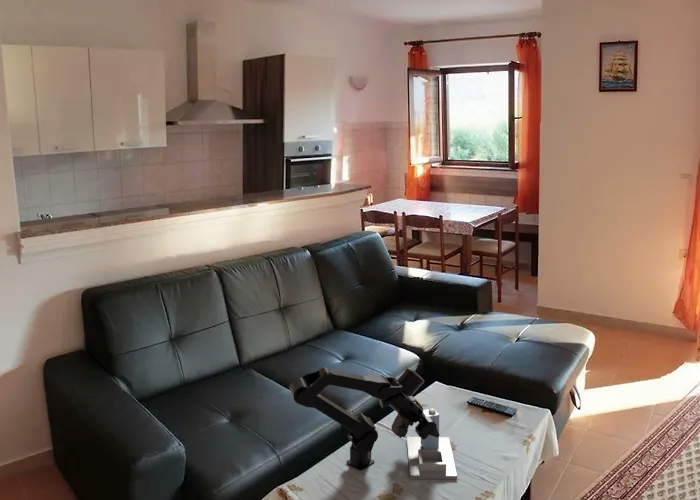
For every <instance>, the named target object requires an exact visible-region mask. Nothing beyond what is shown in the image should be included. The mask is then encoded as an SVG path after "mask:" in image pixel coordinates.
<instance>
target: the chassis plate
mask: <svg viewBox="0 0 700 500" xmlns="http://www.w3.org/2000/svg"><path fill="white" fill-rule="evenodd" d="M406 445H407V446H406V447H407V459H408V469H409V478H410V480H458V474H457V470H456V464H455V459H454V455H453V450H452V445H451V441H450V437H449V436H439V449H434V450H425V449H424V448H423V446H422V445H421V437H419V436H406Z"/></svg>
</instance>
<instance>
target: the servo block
mask: <svg viewBox="0 0 700 500" xmlns="http://www.w3.org/2000/svg"><path fill="white" fill-rule="evenodd" d="M423 411H424V412H423V413H422V415H423V416H424V417H427V416H429V417H430V418H432V420H433V421H434V422H435V423H436V424H437V426H436V427H437V430H438V432H439V433H440V414H439V412H437V410H436V409H435V408H432V407H431V408H429V409H428V408H427V409H423ZM439 437H440V436H439ZM439 437H438V438H437V437H434V436H432V435H428V437H427V438H426V439H424V440H423V439H422V438H421V445H422V446H423V448H424V449H425V450H434V449H439Z"/></svg>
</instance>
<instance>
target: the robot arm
mask: <svg viewBox="0 0 700 500" xmlns="http://www.w3.org/2000/svg"><path fill="white" fill-rule="evenodd" d="M424 383H425V380H424V379H423V378H422V377H421V376H420V375H419V374H418V373H417V372H416V371H415V370H414V369H411V368H410V367H407V368H406V369H405V370H404V372H403V373H402V374H401V375H400V377H399V378H398V379H397V378H396V377H395V376H385V375H383V374H371V373H370V374H368V375H361V374H354V373H350V372H346V371H341V370H335V369H331V368H328V367H321V368H319V369H317V370H316V371H313V372H310V373H309V372H308V373H306V374H303V376H301V377H297V378H294V379H293V380H292V381H291V382H290V385H289V392H290V394H291V396H292V398H293V401H294V402H295V403H296V404H297V405H300V406H302V407H305V408H309V409H314V410H317V411H318V412H320V413H322V414H323V415H325V416H327V417H328V418H329V419H332V420H333V421H334V422H336V423H338V424H340V425H341V426H343V427H344V428H346V429H348V431H350V432H348V434H347V436H348V439H349V441H350V442H351V445H350V447H349V459H348V460H346V464H347V465H349V466H351V467H353V468H354V469H357V470H359V471H363V470H366V469H367V468H368V467H370V466H372V465H373V464H375V459H372V451H373V447H374V445H375V443H376V442H377V441H378V438H379V433H378V431H377V429H376V426H375V424H374V423H373V421H372V419H371V418H370V417H368V416H366V415H364V414H363V413H362V412H359V414H358V415H354V414H352V413H351V412H349V411H347V410H346V409H344V408H342V407H341V406H339V405H337V404H336V403H334V402H333V401H331V400H330V399H328V398H326V397H325V396H323V395H321V394H320V393H321V392H322V391H323V390H324V389H325V388H327V387H328V386H333V387H334V386H335V387H339V388H344V389H349V390H354V391H360V392H363V393H366V394H367V395H369V396H371V397H373V398H375V399H379V403H378V404H379V405H380V408H382V409H383V410H385V409H386V408H387V407H388V406H389V407H391V409H393V410H394V411H395V412H396V413H397V415H396V416H395V418H394V420H393V422H392V424H391V431H392V433H393V434H394V435H395V436H396V437H399V439H402V438H405V437H407V435H408V434H407V433H408V432H409V428H410V427H412V426H413V425H415V424H416V426H415V428H414V431H415V433H416V434H417V435H418V437H421V438H422V439H423V440H424V439H426V438H427V437H428V435H432V436H434V437H437V438H438V437H441V436H440V431H439V432H438V430H437V427H436V426H437V424H436V423H435V422H434V421H433V420H432V418H430V417H429V416H427V417H424V416H423V415H422V413H423V412H424V411H423V410H424V408H423V406H422V405H421V404H420V402H419V401H418V400H417V399H416V398H415V397H414V396H413V395H414V394H415V393H416V392H417V391H418V390H419V388H420V387H421V386H422V385H423V384H424ZM402 391H403V392H404V393H403V392H402ZM409 395H410V396H409ZM409 426H410V427H409Z"/></svg>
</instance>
